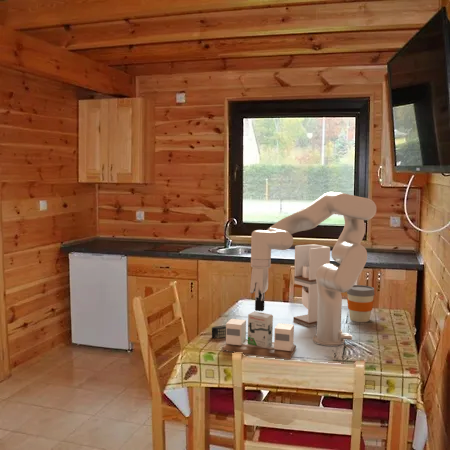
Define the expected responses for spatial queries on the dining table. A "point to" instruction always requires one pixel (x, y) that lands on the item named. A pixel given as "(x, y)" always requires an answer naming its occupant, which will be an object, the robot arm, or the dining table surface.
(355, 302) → the reusable coffee cup
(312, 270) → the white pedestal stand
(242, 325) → the mounted modules
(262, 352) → the rail board
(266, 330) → the ink box
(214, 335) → the mobile phone
